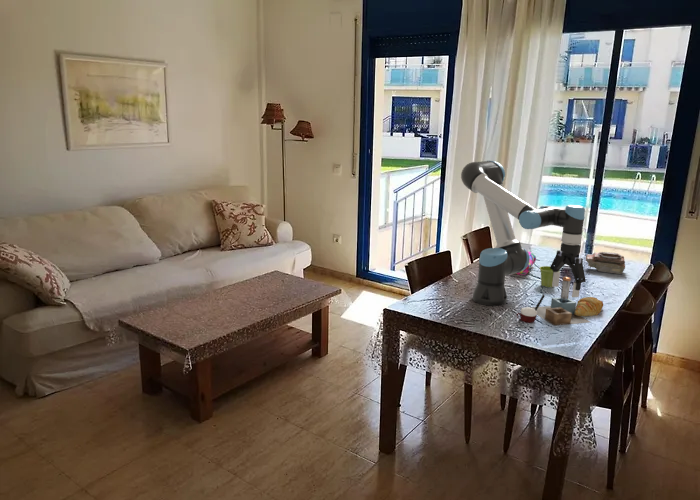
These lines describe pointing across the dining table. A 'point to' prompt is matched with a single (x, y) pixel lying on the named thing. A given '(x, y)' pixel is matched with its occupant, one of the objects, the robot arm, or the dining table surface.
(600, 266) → the olive toy tank
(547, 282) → the plant pot
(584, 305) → the croissant
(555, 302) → the socket
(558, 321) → the mount
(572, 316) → the board
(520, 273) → the pencil case
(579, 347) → the dining table surface
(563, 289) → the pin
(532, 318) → the cocoa
